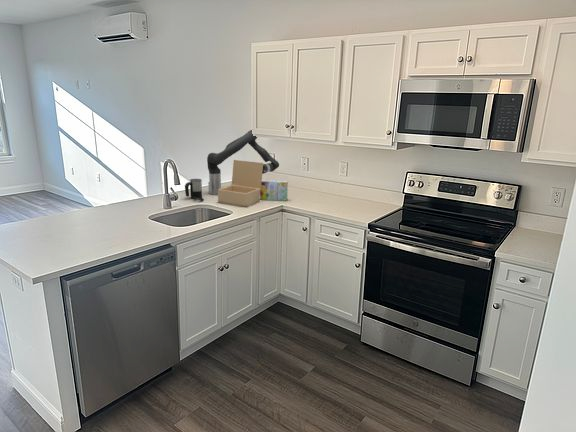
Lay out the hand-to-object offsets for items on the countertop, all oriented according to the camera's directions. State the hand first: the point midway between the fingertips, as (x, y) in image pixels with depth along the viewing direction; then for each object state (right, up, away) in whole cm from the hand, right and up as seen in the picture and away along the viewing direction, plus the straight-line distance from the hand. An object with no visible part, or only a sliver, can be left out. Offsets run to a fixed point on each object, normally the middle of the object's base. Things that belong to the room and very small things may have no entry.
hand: (253, 171), depth 310 cm
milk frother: (-42, -23, -8) cm, 49 cm away
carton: (-10, -25, -13) cm, 29 cm away
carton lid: (-4, -3, -9) cm, 10 cm away
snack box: (+16, -22, -3) cm, 28 cm away
